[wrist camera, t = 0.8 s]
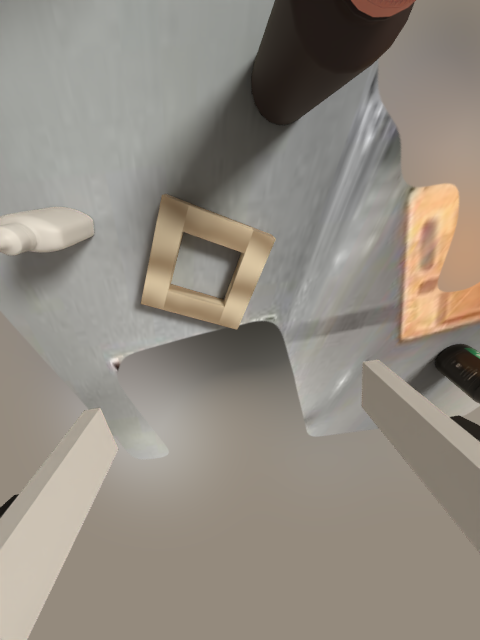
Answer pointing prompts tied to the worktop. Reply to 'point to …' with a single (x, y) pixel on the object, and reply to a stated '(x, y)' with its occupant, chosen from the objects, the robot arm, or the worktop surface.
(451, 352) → the supplement bottle
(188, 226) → the square wooden frame
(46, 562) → the robot arm
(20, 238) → the eye dropper bottle
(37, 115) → the worktop surface
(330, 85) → the vinegar
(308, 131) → the worktop surface
